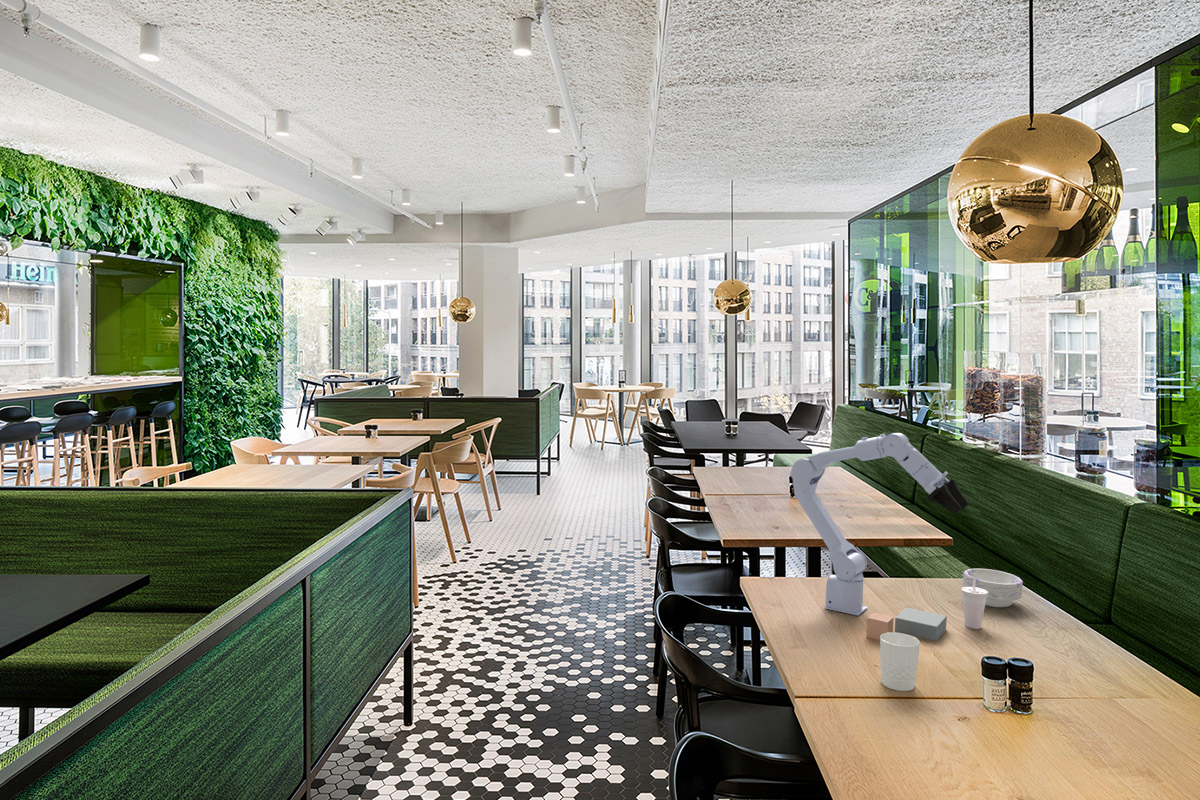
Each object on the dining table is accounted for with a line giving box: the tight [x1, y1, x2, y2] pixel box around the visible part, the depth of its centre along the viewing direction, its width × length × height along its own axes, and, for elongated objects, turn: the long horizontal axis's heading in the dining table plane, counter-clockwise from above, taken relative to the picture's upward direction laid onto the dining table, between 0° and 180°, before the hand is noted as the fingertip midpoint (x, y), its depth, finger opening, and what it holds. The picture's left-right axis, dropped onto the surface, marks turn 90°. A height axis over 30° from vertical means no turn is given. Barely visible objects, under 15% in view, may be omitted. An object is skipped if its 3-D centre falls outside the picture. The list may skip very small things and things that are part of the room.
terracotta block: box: [865, 612, 895, 641], centre depth 191 cm, size 5×5×5 cm
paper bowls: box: [962, 568, 1024, 608], centre depth 219 cm, size 15×15×8 cm
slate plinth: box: [894, 607, 947, 642], centre depth 196 cm, size 10×10×4 cm
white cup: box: [879, 632, 921, 692], centre depth 163 cm, size 8×8×10 cm
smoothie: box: [960, 573, 988, 630], centre depth 199 cm, size 6×6×14 cm
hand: (962, 509), depth 192 cm, fingers open, 7 cm apart
